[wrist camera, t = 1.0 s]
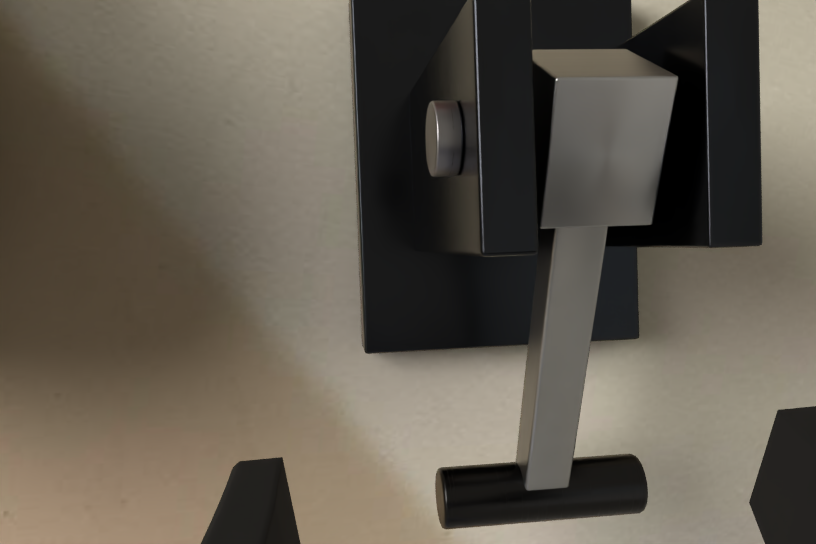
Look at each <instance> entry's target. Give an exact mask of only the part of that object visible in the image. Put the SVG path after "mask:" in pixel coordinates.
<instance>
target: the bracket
mask: <svg viewBox="0 0 816 544" xmlns="http://www.w3.org/2000/svg"><path fill="white" fill-rule="evenodd" d="M349 24H350V49H351V74H352V99H353V124H354V149H355V174H356V200H357V225H358V250H359V275H360V300H361V325H362V346H363V348H364V351H365V353H367V354H371V353H389V352H408V351H426V350H444V349H463V348H481V347H499V346H517V345H528V342H529V332H530V323H531V313H532V304H533V295H534V285H535V276H536V266H537V257H538V247H539V238H540V229H541V228H539V226H538V223H537V189H536V156H535V122H534V88H533V54H532V50H558V49H627V50H629V51H631V52H633V53H634V54H636V55H638V56H640V57H642V58H644V59H646V60H648V61H650V62H652V63H654V64H655V65H657V66H659V67H661V68H663V69H665V70H667V71H669V72H671V73H673V74H675V75H676V76H678V84H677V90H676V95H675V101H674V107H673V112H672V118H671V123H670V129H669V134H668V140H667V146H666V151H665V157H664V162H663V168H662V173H661V179H660V184H659V190H658V196H657V201H656V207H655V212H654V218H653V223H652V224H651V225H633V226H608V230H607V237H606V243H605V250H604V256H603V263H602V270H601V276H600V283H599V290H598V296H597V303H596V310H595V316H594V323H593V329H592V336H591V341H609V340H627V339H637V338H639V312H638V270H637V247H677V248H722V247H747V246H760V245H762V190H761V131H760V72H759V12H758V0H688V1H687V2H685V3H684V4H682V5H681V6H679V7H678V8H676V9H675V10H673V11H672V12H670V13H669V14H667V15H665V16H664V17H662V18H661V19H659V20H658V21H656V22H655V23H653V24H652V25H650V26H649V27H647V28H645V29H644V30H642V31H641V32H639V33H638V34H636V35H635V36H633V37H632V20H631V0H349Z"/></svg>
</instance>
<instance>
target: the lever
mask: <svg viewBox="0 0 816 544" xmlns="http://www.w3.org/2000/svg"><path fill="white" fill-rule="evenodd" d="M532 54H533V88H534V122H535V156H536V189H537V223H538V226H539V228H541V229H540V238H539V247H538V257H537V266H536V276H535V285H534V295H533V304H532V313H531V323H530V332H529V342H528V351H527V360H526V370H525V379H524V389H523V398H522V408H521V417H520V426H519V436H518V445H517V455H516V462H510V463H496V464H482V465H469V466H455V467H441V468H439V469H438V470H437V473H436V485H435V486H436V503H437V511H438V516H439V521H440V524H441V526H442V528H444V529H456V528H468V527H480V526H492V525H504V524H516V523H528V522H540V521H552V520H564V519H576V518H588V517H600V516H612V515H624V514H636V513H640V512H642V511H643V510H644V509H645V507H646V504H647V498H648V489H647V481H646V476H645V472H644V469H643V467H642V464H641V463H640V461H639V459H638V458H637V457H636V456H635V455H632V454H619V455H605V456H592V457H578V458H573V456H574V449H575V442H576V436H577V429H578V422H579V416H580V409H581V403H582V396H583V389H584V383H585V376H586V369H587V363H588V356H589V349H590V343H591V336H592V329H593V323H594V316H595V310H596V303H597V296H598V290H599V283H600V276H601V270H602V263H603V256H604V250H605V243H606V237H607V230H608V226H633V225H651V224H652V223H653V218H654V212H655V207H656V201H657V196H658V190H659V184H660V179H661V173H662V168H663V162H664V157H665V151H666V146H667V140H668V134H669V129H670V123H671V118H672V112H673V107H674V101H675V95H676V90H677V84H678V76H676V75H675V74H673V73H671V72H669V71H667V70H665V69H663V68H661V67H659V66H657V65H655V64H654V63H652V62H650V61H648V60H646V59H644V58H642V57H640V56H638V55H636V54H634V53H633V52H631V51H629V50H627V49H558V50H532Z"/></svg>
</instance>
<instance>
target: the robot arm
mask: <svg viewBox="0 0 816 544" xmlns="http://www.w3.org/2000/svg"><path fill="white" fill-rule="evenodd" d="M749 503H750V506H751V508H752V511H753V514H754V516H755V519H756V521H757V524H758V527H759V529H760V532H761V534H762V537H763V539H764V542H765V544H816V406H815V407H804V408H794V409H784V410H778V411H777V414H776V418H775V421H774V424H773V427H772V431H771V434H770V437H769V440H768V444H767V447H766V450H765V453H764V456H763V460H762V463H761V466H760V469H759V473H758V476H757V479H756V482H755V486H754V489H753V492H752V495H751V498H750V502H749ZM201 544H300V540H299V535H298V530H297V525H296V520H295V516H294V511H293V506H292V501H291V497H290V492H289V487H288V482H287V478H286V473H285V468H284V463H283V458H282V457H281V458H271V459H260V460H250V461H240V462H238V463H237V464H236V465H235V466H234V467H233V469H232V471H231V474H230V477H229V480H228V482H227V485H226V487H225V490H224V492H223V495H222V497H221V500H220V502H219V504H218V507H217V509H216V512H215V514H214V516H213V518H212V521H211V523H210V525H209V527H208V529H207V532H206V534H205V536H204V538H203V540H202V542H201Z"/></svg>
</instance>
